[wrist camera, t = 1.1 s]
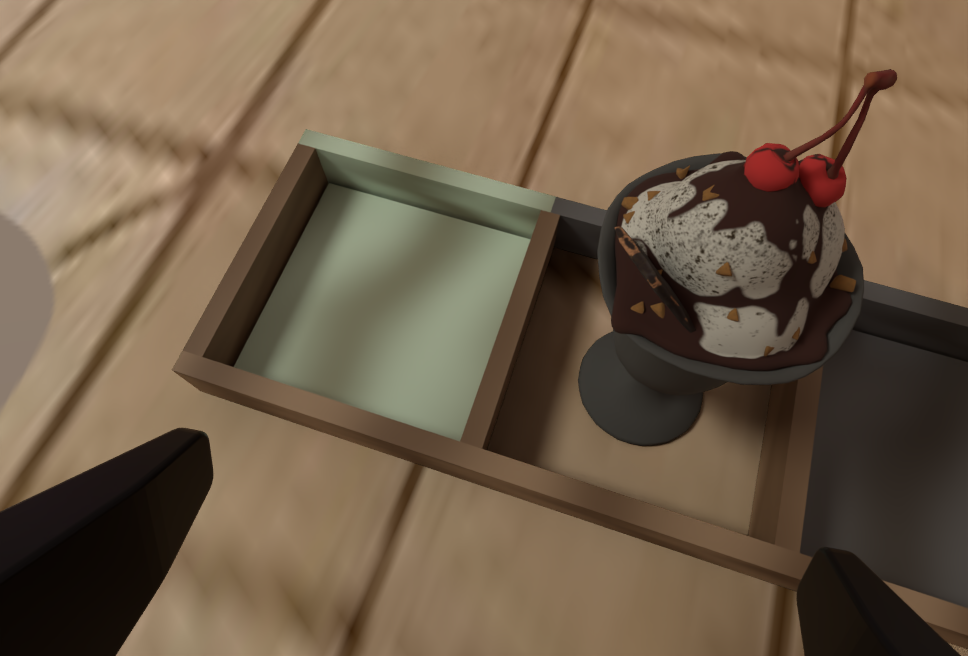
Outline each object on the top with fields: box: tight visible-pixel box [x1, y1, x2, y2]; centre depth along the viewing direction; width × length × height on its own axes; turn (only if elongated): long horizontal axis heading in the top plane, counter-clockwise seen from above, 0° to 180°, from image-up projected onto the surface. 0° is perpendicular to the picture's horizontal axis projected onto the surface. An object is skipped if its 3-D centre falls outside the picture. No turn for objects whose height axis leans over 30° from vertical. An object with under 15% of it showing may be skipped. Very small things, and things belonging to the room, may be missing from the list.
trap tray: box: [172, 129, 968, 649], centre depth 24 cm, size 33×12×2 cm, turn 72°
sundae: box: [578, 69, 897, 446], centre depth 18 cm, size 7×7×15 cm
